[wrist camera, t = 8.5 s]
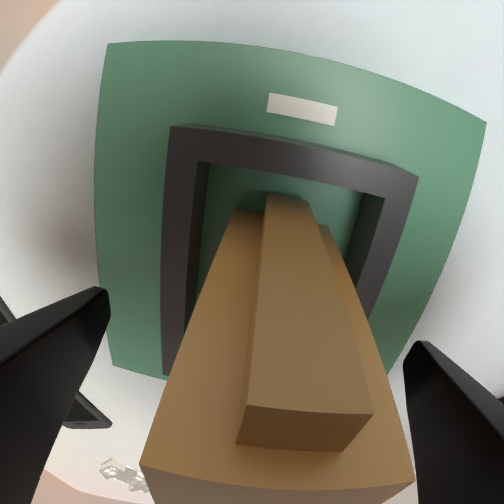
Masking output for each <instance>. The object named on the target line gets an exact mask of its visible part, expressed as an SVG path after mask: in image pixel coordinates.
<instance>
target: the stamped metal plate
mask: <svg viewBox="0 0 504 504" xmlns="http://www.w3.org/2000/svg"><path fill="white" fill-rule="evenodd" d="M99 471H100V472H101V474H102V475H103V476H104V477H105V478H106V479H108V478H111V477H112V478H114V479H116V480H118V481H120V482H122V483H124V484H127V485H129V490H130V491H136V490H140V491H143V492H145V493H146V492H150V491H149V488H148V486H147V483H146V481H145V478H144V476H143V473H142V472H140V471H138V470H135V469H133V468H131V467H129V466H127V465H125V464H123V463H121V462H119V461H117V460H115V459H111V460H109V461H108V462H106V463H104V464H102V465H101V468H100V470H99Z"/></svg>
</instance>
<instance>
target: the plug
mask: <svg viewBox="0 0 504 504" xmlns="http://www.w3.org/2000/svg"><path fill="white" fill-rule="evenodd" d="M139 465H140V468H141V471H142V473H143V476H144V478H145V481H146V483H147V486H148V488H149V491H150V493H151V495H152V498H153V500H154V502H155V504H382V503H383V502H385V501H386V500H388V499H390V498H391V497H393V496H394V495H396V494H397V493H399V492H400V491H402V490H403V489H405V488H406V487H408V486H409V485H410V484H412V483H413V482H415V476H414V471H413V467H412V463H411V459H410V455H409V451H408V447H407V443H406V439H405V436H404V432H403V428H402V425H401V421H400V418H399V414H398V411H397V408H396V404H395V401H394V398H393V394H392V391H391V388H390V385H389V382H388V379H387V376H386V372H385V369H384V366H383V363H382V360H381V358H380V355H379V352H378V349H377V346H376V343H375V340H374V338H373V335H372V332H371V329H370V327H369V324H368V321H367V319H366V316H365V313H364V311H363V308H362V305H361V303H360V300H359V298H358V295H357V293H356V290H355V288H354V285H353V283H352V280H351V278H350V275H349V273H348V270H347V268H346V266H345V263H344V261H343V258H342V256H341V254H340V251H339V249H338V247H337V244H336V242H335V240H334V238H333V235H332V233H331V231H330V229H329V226H327V225H322V224H317V223H316V220H315V217H314V215H313V212H312V209H311V207H310V204H309V201H308V200H303V199H298V198H293V197H288V196H283V195H278V194H272V193H267V198H266V204H265V209H264V213H260V212H255V211H249V210H243V209H238V208H235V209H234V211H233V213H232V216H231V218H230V221H229V223H228V226H227V228H226V230H225V233H224V235H223V238H222V240H221V243H220V245H219V248H218V250H217V252H216V255H215V257H214V260H213V262H212V265H211V267H210V270H209V272H208V275H207V278H206V280H205V283H204V285H203V288H202V290H201V293H200V295H199V298H198V301H197V303H196V306H195V308H194V311H193V314H192V316H191V319H190V321H189V324H188V327H187V329H186V332H185V335H184V337H183V340H182V343H181V345H180V348H179V351H178V353H177V356H176V359H175V361H174V364H173V367H172V370H171V372H170V375H169V378H168V381H167V384H166V386H165V389H164V392H163V395H162V398H161V400H160V403H159V406H158V409H157V412H156V415H155V418H154V420H153V423H152V426H151V429H150V432H149V435H148V438H147V441H146V444H145V447H144V450H143V453H142V456H141V459H140V462H139Z"/></svg>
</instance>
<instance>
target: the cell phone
mask: <svg viewBox="0 0 504 504" xmlns="http://www.w3.org/2000/svg"><path fill="white" fill-rule="evenodd" d="M13 320H16V318H15V317H14V315H13V314H12V312H11V311H10V310H9V308H8V307H7V305H6V304H5V302H4V301H3V300H2V298H1V297H0V326H2V325H4V324H7V323H9V322H11V321H13ZM62 425H63V426H65V427H67V428H71V429H102V428H110V427H111V425H112V422H111V421H110V420H109V419H108V418H107V417H106V416H105V415H104V414H103V413H102V412H100V411H99V410H98V409H97V408H96V407H95V406H94V405H93V404H92V403H91V402H90V401H89V400H87V399H86V398H85V397H84V396H83V395H82V394H81V393H80V392H79V391H78V393H77V395H76V397H75V399H74V401H73V403H72V405H71V407H70V409H69V411H68V413H67V416H66V418H65V420H64V422H63V424H62Z"/></svg>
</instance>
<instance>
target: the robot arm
mask: <svg viewBox="0 0 504 504" xmlns="http://www.w3.org/2000/svg"><path fill="white" fill-rule="evenodd" d="M110 318H111V308H110V300H109V293H108V291H107V290H106V289H104V288H100V287H96V286H94V287H91V288H89V289H86V290H84V291H81V292H79V293H77V294H74V295H72V296H69V297H67V298H65V299H62V300H60V301H58V302H55V303H53V304H50V305H48V306H46V307H43V308H41V309H39V310H36V311H34V312H32V313H29V314H27V315H25V316H23V317H20V318H18V319H16V320H13V321H11V322H9V323H7V324H4V325H2V326H0V504H31V501H32V499H33V496H34V493H35V490H36V488H37V485H38V482H39V480H40V476H41V474H42V471H43V469H44V466H45V464H46V461H47V459H48V456H49V454H50V452H51V449H52V447H53V445H54V442H55V440H56V438H57V435H58V433H59V431H60V429H61V426H62V424H63V422H64V420H65V418H66V416H67V413H68V411H69V409H70V407H71V405H72V403H73V401H74V399H75V397H76V395H77V393H78V391H79V389H80V387H81V385H82V383H83V381H84V379H85V377H86V375H87V373H88V371H89V369H90V367H91V365H92V363H93V361H94V358H95V356H96V353H97V351H98V348H99V346H100V343H101V341H102V338H103V336H104V333H105V331H106V328H107V326H108V323H109V321H110ZM403 374H404V384H405V395H406V406H407V413H408V419H409V425H410V432H411V438H412V445H413V452H414V460H415V469H416V478H417V489H418V502H419V504H504V399H501V400H498V399H497V398H496V397H495V396H494V395H492V394H491V393H490V392H489V391H488V390H487V389H485V388H484V387H483V386H482V385H481V384H480V383H478V382H477V381H476V380H475V379H474V378H472V377H471V376H470V375H469V374H468V373H466V372H465V371H464V370H463V369H462V368H460V367H459V366H458V365H457V364H456V363H454V362H453V361H452V360H451V359H450V358H448V357H447V356H446V355H445V354H443V353H442V352H441V351H440V350H439V349H437V348H436V347H435V346H434V345H432V344H431V343H430V342H428V341H420V340H418V341H416V342H415V343H414V344H413V346H412V347H411V349H410V351H409V352H408V354H407V356H406V357H405V359H404V362H403Z"/></svg>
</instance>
